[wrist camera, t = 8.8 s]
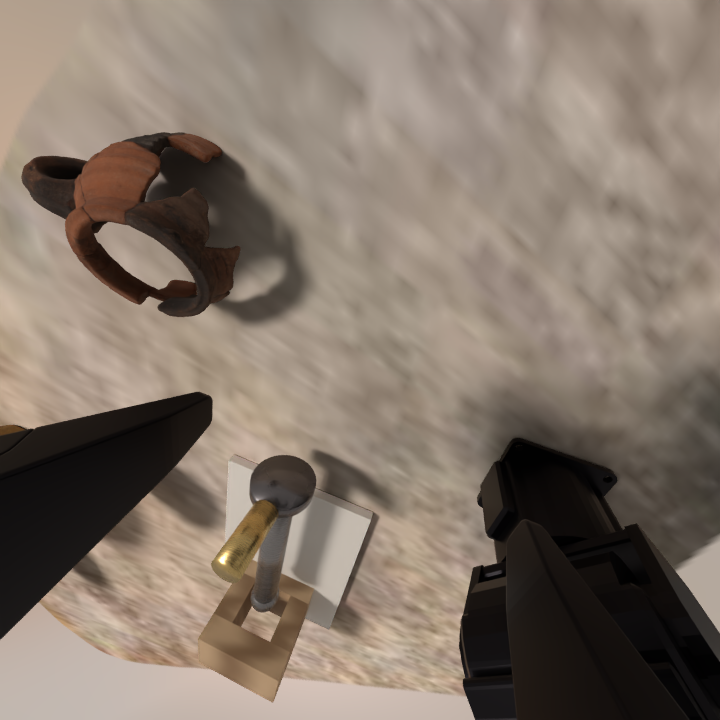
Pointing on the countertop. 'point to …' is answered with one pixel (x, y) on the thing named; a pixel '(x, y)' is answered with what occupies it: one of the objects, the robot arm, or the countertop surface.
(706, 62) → the countertop surface
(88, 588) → the countertop surface
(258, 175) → the countertop surface
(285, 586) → the block
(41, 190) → the brown curved loop
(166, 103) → the countertop surface
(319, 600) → the mounting board
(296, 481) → the hook rod
